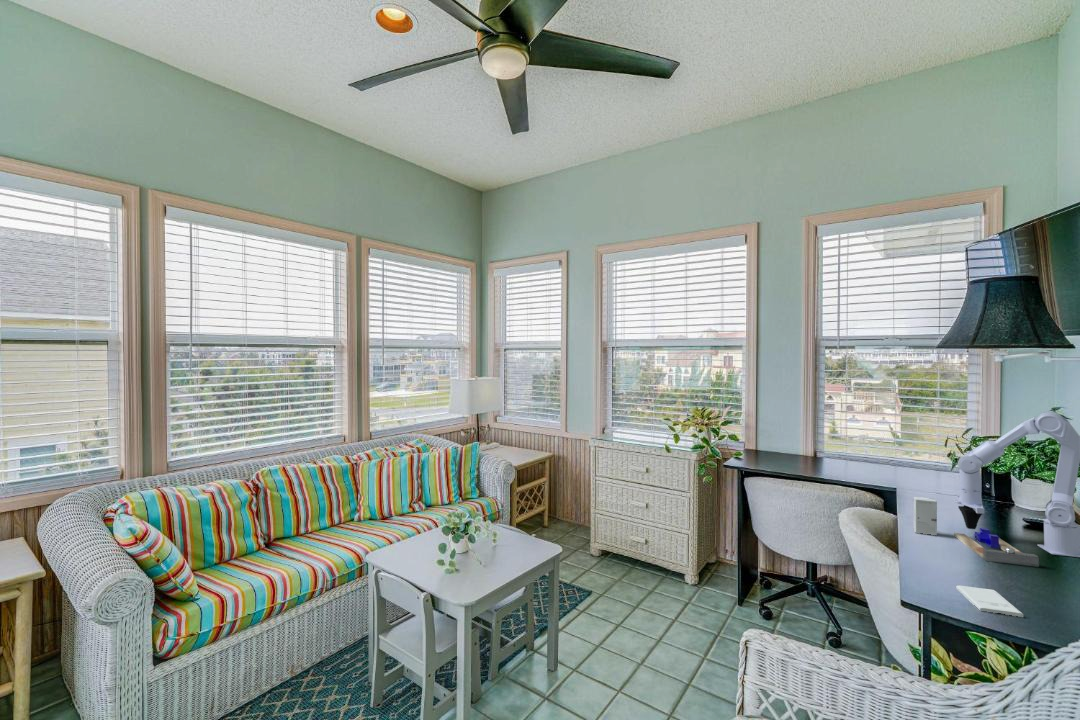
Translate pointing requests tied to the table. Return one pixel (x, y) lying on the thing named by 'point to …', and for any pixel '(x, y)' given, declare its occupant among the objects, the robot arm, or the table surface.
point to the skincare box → (925, 515)
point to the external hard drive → (988, 600)
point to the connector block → (1011, 557)
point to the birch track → (977, 547)
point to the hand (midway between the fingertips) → (971, 528)
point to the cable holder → (987, 538)
